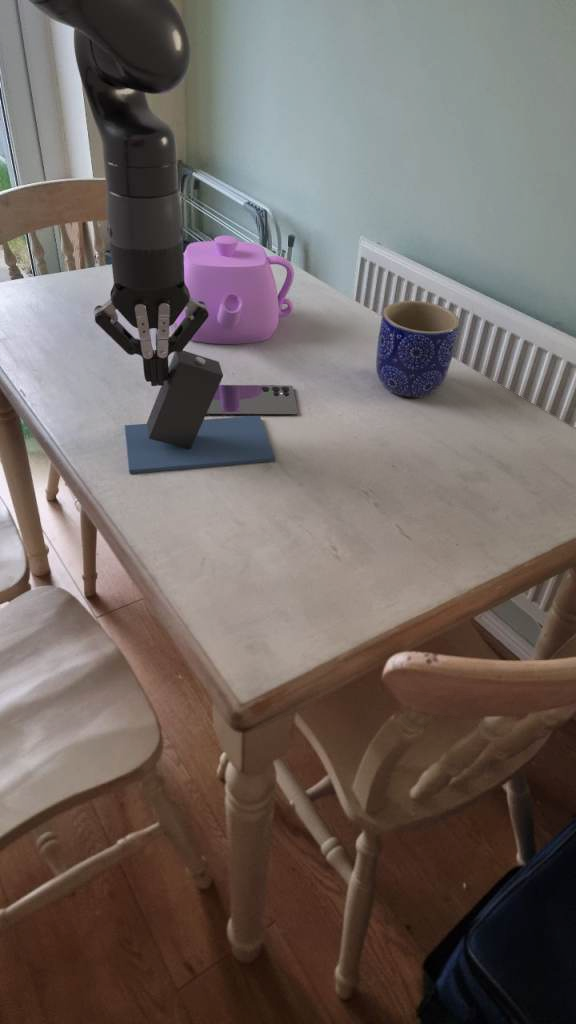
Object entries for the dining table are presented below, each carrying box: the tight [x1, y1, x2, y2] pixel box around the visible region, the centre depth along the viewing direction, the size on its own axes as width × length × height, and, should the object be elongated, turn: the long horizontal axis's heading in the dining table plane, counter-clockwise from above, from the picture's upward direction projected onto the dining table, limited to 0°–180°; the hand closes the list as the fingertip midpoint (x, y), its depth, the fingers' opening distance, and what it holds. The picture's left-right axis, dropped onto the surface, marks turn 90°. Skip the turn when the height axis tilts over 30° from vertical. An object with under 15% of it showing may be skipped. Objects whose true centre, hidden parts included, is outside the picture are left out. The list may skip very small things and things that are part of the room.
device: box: [146, 349, 224, 449], centre depth 85 cm, size 6×4×11 cm, turn 104°
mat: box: [124, 415, 276, 475], centre depth 89 cm, size 18×10×1 cm, turn 103°
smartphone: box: [206, 384, 298, 416], centre depth 98 cm, size 8×1×16 cm
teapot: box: [174, 235, 295, 345], centre depth 112 cm, size 19×21×14 cm
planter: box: [375, 300, 461, 398], centre depth 101 cm, size 11×11×11 cm
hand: (156, 382), depth 83 cm, fingers closed
